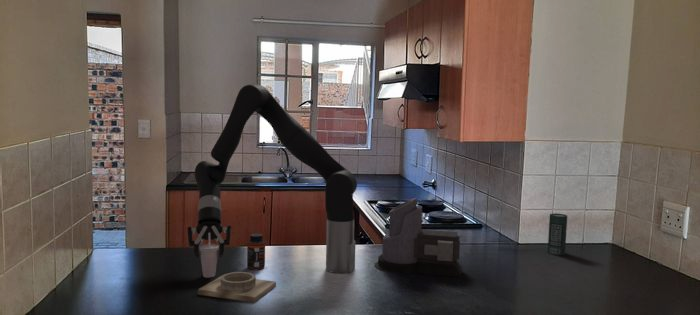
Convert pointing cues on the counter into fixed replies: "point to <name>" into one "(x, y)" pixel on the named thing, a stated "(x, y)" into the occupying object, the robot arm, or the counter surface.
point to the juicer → (418, 245)
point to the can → (557, 234)
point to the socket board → (239, 294)
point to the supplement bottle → (256, 252)
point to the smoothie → (209, 258)
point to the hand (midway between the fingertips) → (209, 256)
